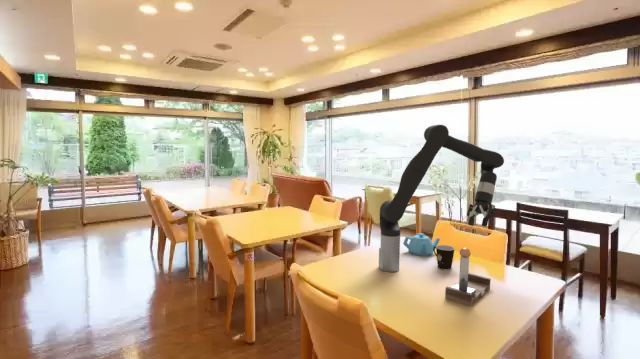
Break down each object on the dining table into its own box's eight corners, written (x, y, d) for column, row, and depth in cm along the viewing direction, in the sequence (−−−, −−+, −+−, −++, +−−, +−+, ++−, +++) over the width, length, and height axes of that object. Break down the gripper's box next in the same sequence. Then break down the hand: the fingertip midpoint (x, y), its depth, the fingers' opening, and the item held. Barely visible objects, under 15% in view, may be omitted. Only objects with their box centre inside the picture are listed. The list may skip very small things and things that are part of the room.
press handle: (470, 298, 136) (473, 251, 134) (450, 292, 142) (452, 247, 140) (475, 294, 140) (478, 248, 138) (455, 288, 145) (457, 244, 143)
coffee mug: (456, 270, 171) (457, 250, 170) (438, 270, 171) (439, 250, 170) (448, 262, 182) (449, 243, 181) (431, 262, 182) (432, 243, 181)
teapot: (417, 246, 209) (418, 228, 208) (440, 252, 197) (441, 234, 196) (401, 251, 199) (401, 233, 198) (424, 258, 188) (425, 239, 186)
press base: (471, 306, 134) (472, 295, 133) (445, 298, 141) (445, 287, 140) (491, 289, 150) (491, 278, 149) (466, 282, 157) (466, 272, 156)
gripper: (468, 191, 174) (460, 222, 171) (490, 189, 161) (482, 223, 158) (479, 196, 176) (472, 227, 173) (502, 195, 163) (495, 229, 160)
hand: (477, 225), depth 165 cm, fingers open, 8 cm apart
